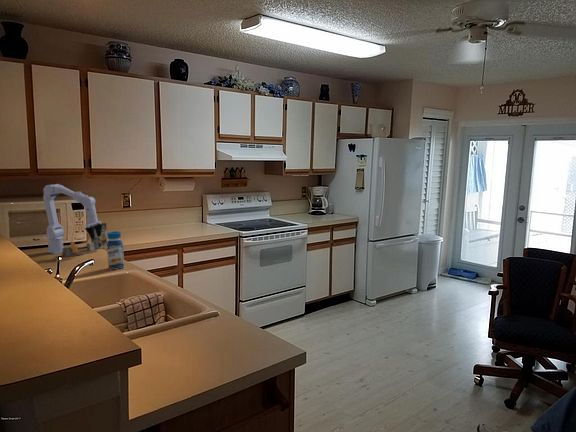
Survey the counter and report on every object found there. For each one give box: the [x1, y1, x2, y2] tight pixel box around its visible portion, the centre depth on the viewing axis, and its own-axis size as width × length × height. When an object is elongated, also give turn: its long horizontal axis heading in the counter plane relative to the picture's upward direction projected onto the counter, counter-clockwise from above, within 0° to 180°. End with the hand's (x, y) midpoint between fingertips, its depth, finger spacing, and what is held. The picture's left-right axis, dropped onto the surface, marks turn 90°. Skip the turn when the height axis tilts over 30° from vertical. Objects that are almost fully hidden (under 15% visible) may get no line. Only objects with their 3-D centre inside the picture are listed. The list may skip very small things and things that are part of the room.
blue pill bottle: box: [106, 230, 125, 270], centre depth 237 cm, size 8×8×20 cm
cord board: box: [61, 241, 98, 258], centre depth 275 cm, size 9×18×6 cm, turn 142°
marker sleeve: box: [67, 240, 79, 253], centre depth 272 cm, size 4×4×7 cm
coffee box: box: [90, 222, 108, 250], centre depth 292 cm, size 9×6×16 cm
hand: (96, 237), depth 274 cm, fingers open, 7 cm apart
